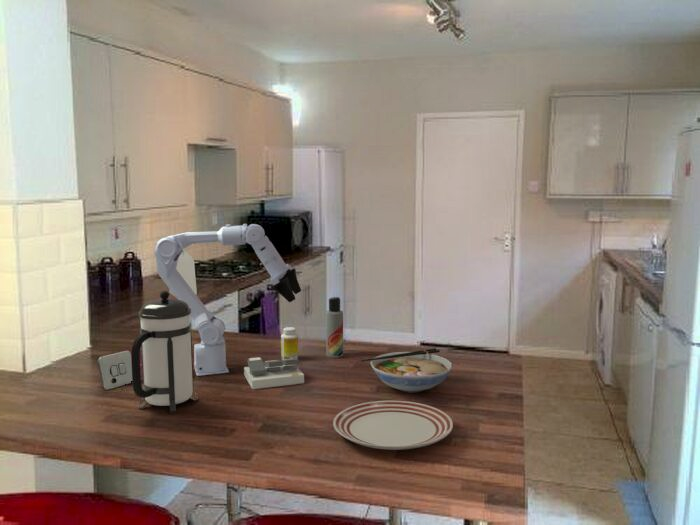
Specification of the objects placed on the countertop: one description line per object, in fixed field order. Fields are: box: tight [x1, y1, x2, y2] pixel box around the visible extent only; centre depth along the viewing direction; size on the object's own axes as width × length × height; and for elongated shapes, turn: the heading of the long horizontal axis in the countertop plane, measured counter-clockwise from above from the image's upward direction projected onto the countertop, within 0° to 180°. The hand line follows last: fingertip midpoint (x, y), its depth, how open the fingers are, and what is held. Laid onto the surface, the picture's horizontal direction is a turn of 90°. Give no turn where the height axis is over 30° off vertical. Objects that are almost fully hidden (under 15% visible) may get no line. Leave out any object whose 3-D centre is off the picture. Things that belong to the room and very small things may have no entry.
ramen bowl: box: [360, 347, 453, 394], centre depth 162 cm, size 25×23×8 cm
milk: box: [168, 248, 198, 297], centre depth 304 cm, size 12×12×26 cm
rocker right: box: [279, 358, 300, 365], centre depth 171 cm, size 4×7×2 cm, turn 20°
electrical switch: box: [96, 350, 132, 390], centre depth 165 cm, size 9×5×9 cm, turn 141°
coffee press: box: [131, 290, 199, 414], centre depth 147 cm, size 17×16×30 cm
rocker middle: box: [263, 359, 283, 367], centre depth 169 cm, size 4×7×2 cm, turn 20°
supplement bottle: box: [280, 326, 299, 360], centre depth 189 cm, size 6×6×10 cm
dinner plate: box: [332, 400, 454, 451], centre depth 133 cm, size 27×27×3 cm
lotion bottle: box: [325, 296, 344, 359], centre depth 192 cm, size 6×6×20 cm
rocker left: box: [247, 357, 266, 375], centre depth 167 cm, size 4×7×2 cm, turn 20°
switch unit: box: [243, 364, 305, 390], centre depth 170 cm, size 15×13×4 cm
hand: (295, 296), depth 177 cm, fingers open, 7 cm apart
